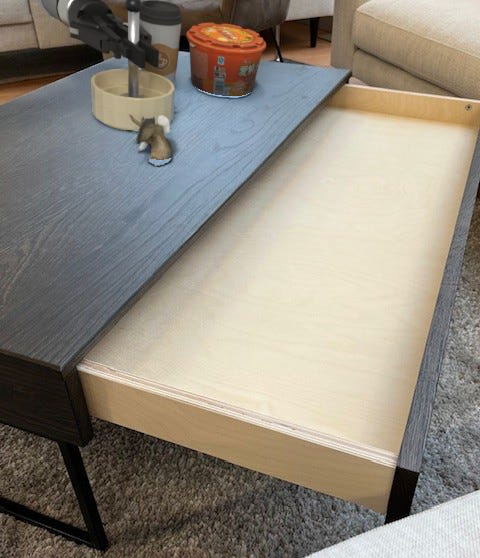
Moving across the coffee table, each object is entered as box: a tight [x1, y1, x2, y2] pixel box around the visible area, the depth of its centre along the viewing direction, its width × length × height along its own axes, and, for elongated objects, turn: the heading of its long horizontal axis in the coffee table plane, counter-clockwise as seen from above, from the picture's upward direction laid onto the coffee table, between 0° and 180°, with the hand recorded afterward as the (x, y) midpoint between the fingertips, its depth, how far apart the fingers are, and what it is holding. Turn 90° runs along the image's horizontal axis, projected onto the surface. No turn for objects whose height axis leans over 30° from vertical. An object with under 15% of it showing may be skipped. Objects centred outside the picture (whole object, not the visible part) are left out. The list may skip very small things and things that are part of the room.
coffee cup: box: [139, 0, 183, 85], centre depth 120 cm, size 8×8×15 cm
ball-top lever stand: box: [120, 0, 147, 98], centre depth 105 cm, size 5×5×19 cm
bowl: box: [90, 68, 176, 131], centre depth 110 cm, size 14×14×6 cm
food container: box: [186, 22, 267, 96], centre depth 126 cm, size 16×16×11 cm
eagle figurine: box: [129, 115, 174, 160], centre depth 100 cm, size 8×7×9 cm
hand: (149, 59), depth 101 cm, fingers closed on ball-top lever stand, 2 cm apart
